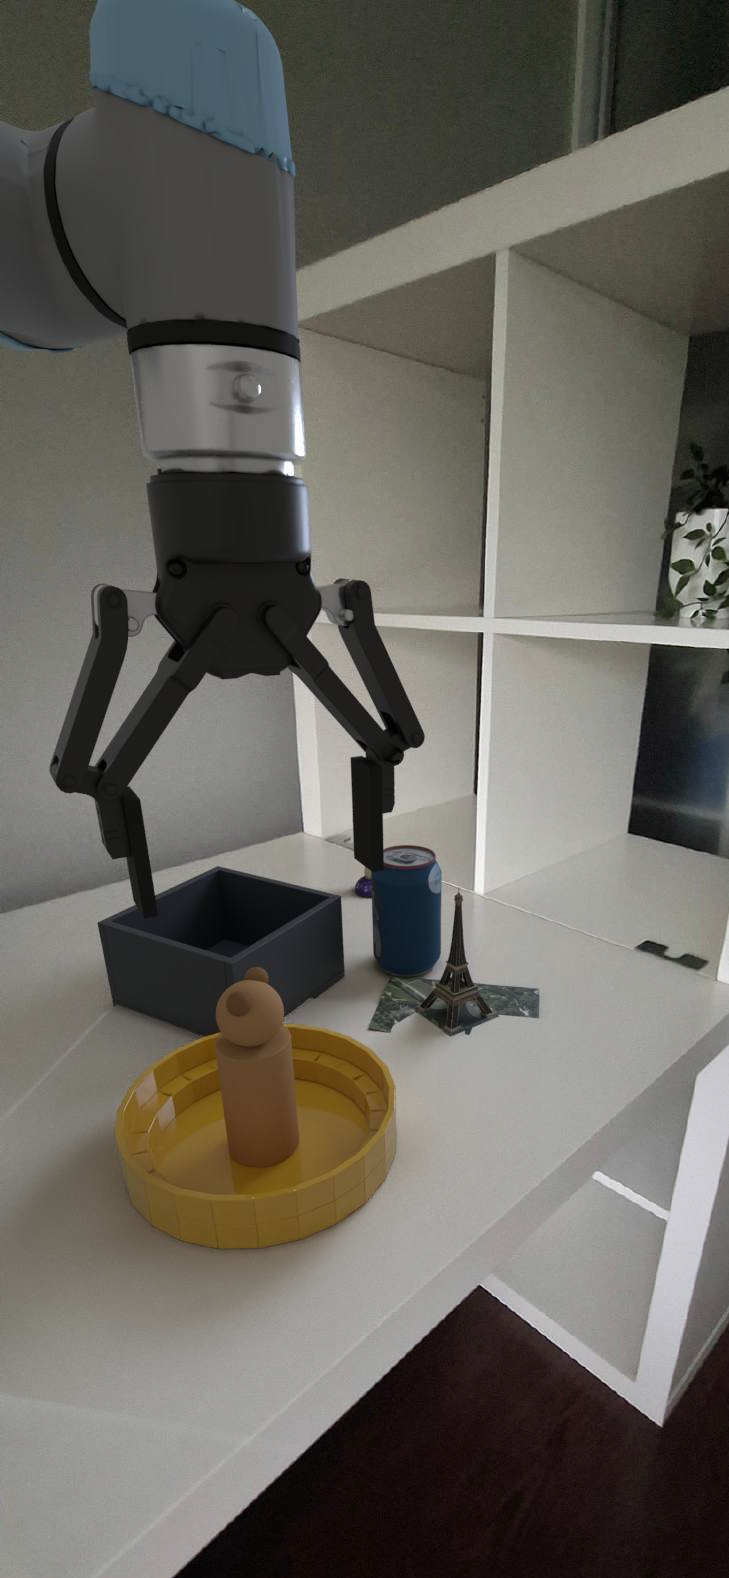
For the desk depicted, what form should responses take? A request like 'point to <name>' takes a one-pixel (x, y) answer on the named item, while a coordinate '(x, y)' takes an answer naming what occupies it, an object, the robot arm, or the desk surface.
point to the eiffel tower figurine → (452, 995)
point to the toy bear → (256, 1073)
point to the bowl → (257, 1204)
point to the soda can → (407, 911)
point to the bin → (222, 946)
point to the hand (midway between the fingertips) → (264, 885)
